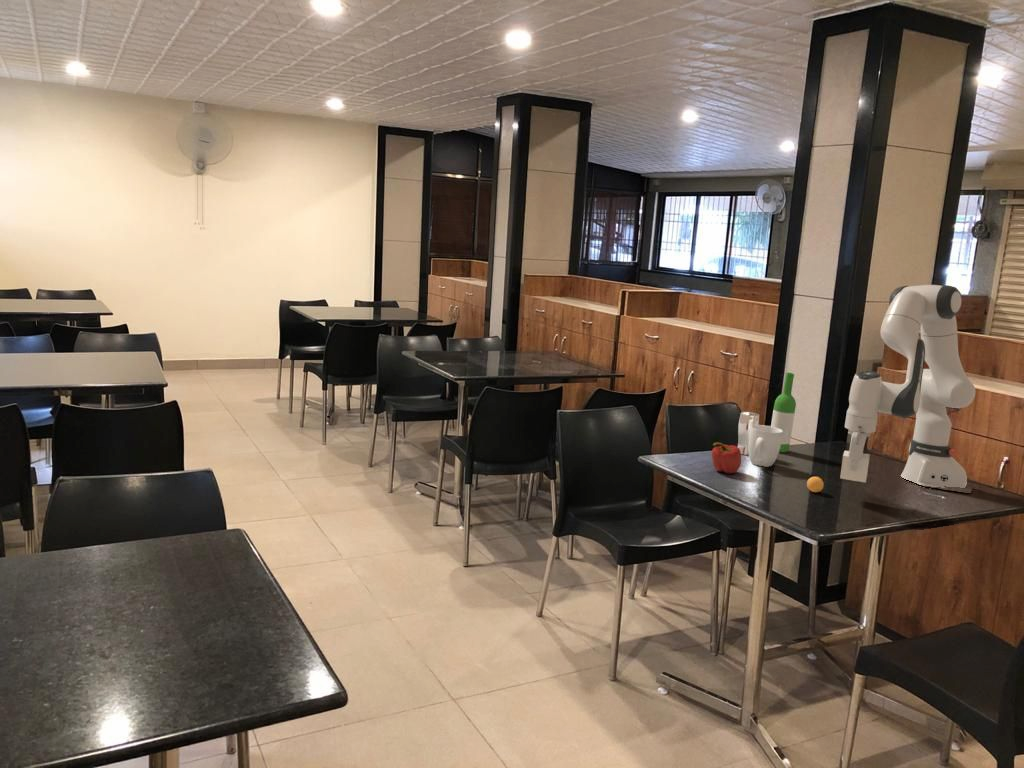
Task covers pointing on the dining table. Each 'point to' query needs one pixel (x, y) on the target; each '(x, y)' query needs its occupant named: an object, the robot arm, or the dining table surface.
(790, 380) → the wine bottle
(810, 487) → the ball
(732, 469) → the vegetable
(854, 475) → the white cube
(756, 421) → the beer glass
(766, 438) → the mug
